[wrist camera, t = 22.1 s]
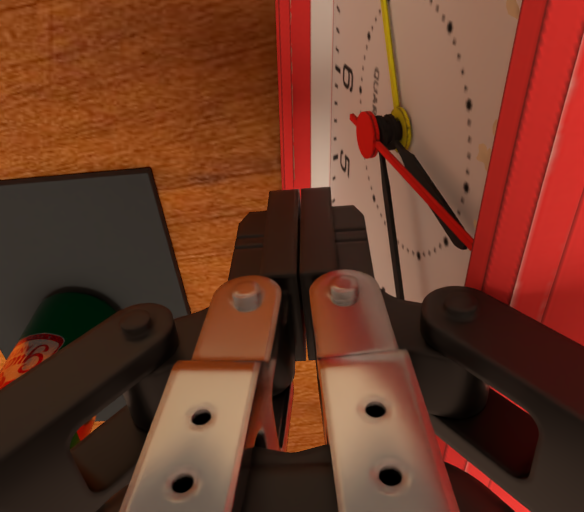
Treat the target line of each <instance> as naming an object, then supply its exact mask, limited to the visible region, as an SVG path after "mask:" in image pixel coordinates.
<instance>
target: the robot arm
mask: <svg viewBox="0 0 584 512" xmlns="http://www.w3.org/2000/svg"><path fill="white" fill-rule="evenodd" d="M306 340H307V349H308V359H309V360H316V370H317V381H318V391H319V399H320V408H321V416H322V424H323V432H324V440H325V445H323V446H319V447H315V448H311V449H308V450H304V451H300V452H295V453H288V452H287V444H288V436H289V428H290V420H291V411H292V403H293V395H294V385H293V378H294V374H295V361H306ZM490 386H491V387H492V388H494V389H495V390H497V391H498V392H500V393H501V394H503V395H504V396H505V397H507V398H508V399H510V400H511V401H513V402H514V403H516V404H517V405H519V406H520V407H522V408H523V409H524V410H526V411H527V412H528V413H529V414H528V413H527V412H525V411H524V410H522V409H521V408H519V407H518V406H516V405H515V404H513V403H512V402H510V401H509V400H508V399H506V398H505V397H503V396H502V395H500V394H499V393H497V392H496V391H494V390H493V389H491V388H490ZM122 394H123V396H124V399H125V401H126V404H127V405H125V406H124V407H123V408H122V409H120V410H119V411H118V412H117V413H115V414H114V415H113V416H112V417H110V418H109V419H108V420H107V421H105V422H104V423H103V424H101V425H100V426H99V427H98V428H96V429H95V430H94V431H93V432H91V433H90V434H89V435H88V436H86V437H85V438H84V439H83V440H81V441H80V442H79V443H78V444H76V445H75V446H74V447H73V448H71V449H70V444H71V441H72V438H73V436H74V435H75V433H76V432H77V431H78V429H79V428H80V427H81V426H83V425H84V424H85V423H86V422H88V421H89V420H90V419H92V418H93V417H94V416H95V415H97V414H98V413H99V412H101V411H102V410H103V409H104V408H106V407H107V406H108V405H110V404H111V403H112V402H113V401H115V400H116V399H117V398H119V397H120V396H121V395H122ZM435 435H436V436H438V437H439V438H440V439H441V440H443V441H444V442H445V443H446V444H448V445H449V446H450V447H451V448H453V449H454V450H455V451H456V452H458V453H459V454H460V455H461V456H462V457H464V458H465V459H466V460H467V461H469V462H470V463H471V464H472V465H474V466H475V467H476V468H477V469H479V470H480V471H481V472H482V473H483V474H485V475H486V476H487V477H488V478H490V479H491V480H492V481H493V482H495V483H496V484H497V485H498V486H500V487H501V488H502V489H503V490H504V491H506V492H507V493H508V494H509V495H511V496H512V497H513V498H514V499H516V500H517V501H518V502H519V503H521V504H522V505H523V506H524V507H526V508H527V509H528V510H529V511H530V512H584V346H583V345H581V344H579V343H577V342H575V341H573V340H571V339H570V338H568V337H566V336H564V335H562V334H560V333H559V332H557V331H555V330H553V329H551V328H549V327H547V326H546V325H544V324H542V323H540V322H538V321H536V320H534V319H533V318H531V317H529V316H527V315H525V314H523V313H521V312H520V311H518V310H516V309H514V308H512V307H510V306H508V305H507V304H505V303H503V302H501V301H499V300H497V299H495V298H494V297H492V296H490V295H488V294H486V293H484V292H482V291H480V290H477V289H474V288H470V287H465V286H446V287H442V288H439V289H436V290H434V291H432V292H430V293H429V294H428V295H427V296H426V297H425V298H424V300H423V302H422V303H419V302H413V301H407V300H402V299H399V298H396V297H394V296H391V295H389V294H388V293H386V292H385V291H383V290H382V289H381V288H380V286H379V284H378V282H377V281H376V280H375V277H374V271H373V265H372V260H371V254H370V248H369V242H368V236H367V230H366V224H365V218H364V215H363V214H362V213H361V212H360V211H359V210H358V209H357V208H356V207H355V206H354V205H345V206H332V199H331V187H317V188H303V189H301V199H300V191H299V189H291V190H277V191H270V192H269V199H268V207H267V211H260V212H249V213H248V215H247V216H246V217H245V218H244V219H243V220H242V221H241V222H240V223H239V226H238V231H237V239H236V242H235V249H234V252H233V257H232V262H231V268H230V273H229V278H228V281H227V282H226V283H224V284H223V285H221V286H220V287H219V288H218V289H217V290H216V291H215V293H214V295H213V297H212V300H211V303H210V306H209V307H208V308H206V309H204V310H202V311H199V312H196V313H193V314H189V315H186V316H182V317H179V318H175V319H174V318H173V315H172V313H171V311H170V310H169V309H168V308H167V307H165V306H163V305H160V304H156V303H141V304H136V305H132V306H129V307H126V308H124V309H122V310H120V311H118V312H116V313H115V314H113V315H112V316H110V317H109V318H107V319H106V320H104V321H103V322H101V323H100V324H98V325H97V326H95V327H94V328H92V329H91V330H89V331H88V332H86V333H85V334H83V335H82V336H80V337H79V338H77V339H76V340H74V341H73V342H71V343H70V344H68V345H67V346H65V347H64V348H62V349H61V350H59V351H57V352H56V353H54V354H53V355H51V356H50V357H48V358H47V359H45V360H44V361H42V362H41V363H39V364H38V365H36V366H35V367H33V368H32V369H30V370H29V371H27V372H26V373H24V374H23V375H21V376H20V377H18V378H17V379H15V380H14V381H12V382H11V383H9V384H8V385H6V386H5V387H3V388H2V389H0V512H515V511H514V510H513V509H512V508H511V507H509V506H508V505H507V504H506V503H505V502H504V501H503V500H502V499H500V498H499V497H498V496H497V495H496V494H495V493H494V492H492V491H491V490H490V489H489V488H488V487H486V486H485V485H484V484H483V483H482V482H480V481H479V480H477V479H476V478H474V477H473V476H471V475H470V474H469V473H467V472H465V471H463V470H461V469H460V468H458V467H456V466H454V465H451V464H449V463H447V462H444V461H443V458H442V455H441V451H440V448H439V445H438V442H437V439H436V436H435Z"/></svg>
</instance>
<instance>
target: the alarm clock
mask: <svg viewBox="0 0 584 512" xmlns="http://www.w3.org/2000/svg"><path fill="white" fill-rule="evenodd" d="M275 8H276V36H277V64H278V91H279V119H280V147H281V175H282V190H291V189H299V191H300V199H301V189H303V188H317V187H331V199H332V206H345V205H354V206H355V207H356V208H357V209H358V210H359V211H360V212H361V213H362V214H363V215H364V218H365V224H366V230H367V236H368V242H369V248H370V254H371V260H372V265H373V271H374V277H375V280H376V281H377V282H378V284H379V286H380V288H381V289H382V290H383V291H385V292H386V293H388V294H389V295H391V296H394V297H396V298H399V299H402V300H407V301H413V302H419V303H422V302H423V300H424V298H425V297H426V296H427V295H428V294H429V293H430V292H432V291H434V290H436V289H439V288H442V287H446V286H465V287H470V288H474V289H477V290H480V291H482V292H484V293H486V294H488V295H490V296H492V297H494V298H495V299H497V300H499V301H501V302H503V303H505V304H507V305H508V306H510V307H512V308H514V309H516V310H518V311H520V312H521V313H523V314H525V315H527V316H529V317H531V318H533V319H534V320H536V321H538V322H540V323H542V324H544V325H546V326H547V327H549V328H551V329H553V330H555V331H557V332H559V333H560V334H562V335H564V336H566V337H568V338H570V339H571V340H573V341H575V342H577V343H579V344H581V345H583V346H584V0H275ZM490 388H491V389H493V390H494V391H496V392H497V393H499V394H500V395H502V396H503V397H505V396H504V395H503V394H501V393H500V392H498V391H497V390H495V389H494V388H492V387H491V386H490ZM505 398H506V399H508V398H507V397H505ZM508 400H509V401H510V402H512V403H513V404H515V405H516V406H518V407H519V408H521V409H522V410H524V409H523V408H522V407H520V406H519V405H517V404H516V403H514V402H513V401H511V400H510V399H508ZM524 411H525V412H527V411H526V410H524ZM527 413H528V412H527ZM528 414H529V413H528ZM435 436H436V435H435ZM436 439H437V442H438V445H439V448H440V451H441V455H442V458H443V461H444V462H447V463H449V464H451V465H454V466H456V467H458V468H460V469H461V470H463V471H465V472H467V473H469V474H470V475H471V476H473V477H474V478H476V479H477V480H479V481H480V482H482V483H483V484H484V485H485V486H486V487H488V488H489V489H490V490H491V491H492V492H494V493H495V494H496V495H497V496H498V497H499V498H500V499H502V500H503V501H504V502H505V503H506V504H507V505H508V506H509V507H511V508H512V509H513V510H514V511H515V512H530V511H529V510H528V509H527V508H526V507H524V506H523V505H522V504H521V503H519V502H518V501H517V500H516V499H514V498H513V497H512V496H511V495H509V494H508V493H507V492H506V491H504V490H503V489H502V488H501V487H500V486H498V485H497V484H496V483H495V482H493V481H492V480H491V479H490V478H488V477H487V476H486V475H485V474H483V473H482V472H481V471H480V470H479V469H477V468H476V467H475V466H474V465H472V464H471V463H470V462H469V461H467V460H466V459H465V458H464V457H462V456H461V455H460V454H459V453H458V452H456V451H455V450H454V449H453V448H451V447H450V446H449V445H448V444H446V443H445V442H444V441H443V440H441V439H440V438H439V437H438V436H436Z"/></svg>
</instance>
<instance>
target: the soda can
mask: <svg viewBox="0 0 584 512" xmlns="http://www.w3.org/2000/svg"><path fill="white" fill-rule="evenodd" d="M115 313H116V311H115V309H114V308H113V307H112V306H111V305H109V304H108V303H107V302H105V301H104V300H102V299H100V298H99V297H96V296H94V295H91V294H87V293H82V292H65V293H59V294H55V295H53V296H50V297H48V298H47V299H45V300H44V301H43V302H42V303H41V304H40V305H39V306H38V308H37V309H36V311H35V313H34V315H33V316H32V318H31V320H30V321H29V323H28V325H27V326H26V328H25V330H24V332H23V333H22V335H21V337H20V338H19V340H18V342H17V343H16V345H15V347H14V349H13V350H12V352H11V354H10V355H9V357H8V359H7V361H6V362H5V364H4V366H3V367H2V369H1V371H0V389H2V388H3V387H5V386H6V385H8V384H9V383H11V382H12V381H14V380H15V379H17V378H18V377H20V376H21V375H23V374H24V373H26V372H27V371H29V370H30V369H32V368H33V367H35V366H36V365H38V364H39V363H41V362H42V361H44V360H45V359H47V358H48V357H50V356H51V355H53V354H54V353H56V352H57V351H59V350H61V349H62V348H64V347H65V346H67V345H68V344H70V343H71V342H73V341H74V340H76V339H77V338H79V337H80V336H82V335H83V334H85V333H86V332H88V331H89V330H91V329H92V328H94V327H95V326H97V325H98V324H100V323H101V322H103V321H104V320H106V319H107V318H109V317H110V316H112V315H113V314H115ZM96 416H97V415H95V416H94V417H93V418H92V419H90V420H89V421H88V422H86V423H85V424H84V425H83V426H81V427H80V428H79V429H78V431H77V432H76V433H75V435H74V436H73V438H72V441H71V444H70V449H71V448H73V447H74V446H75V445H76V444H78V443H79V442H80V441H81V440H83V439H84V438H85V437H86V436H88V435H89V434H90V432H91V429H92V427H93V424H94V421H95V418H96Z"/></svg>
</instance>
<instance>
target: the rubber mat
mask: <svg viewBox="0 0 584 512" xmlns="http://www.w3.org/2000/svg"><path fill="white" fill-rule="evenodd" d="M65 292H82V293H87V294H91V295H94V296H96V297H99V298H100V299H102V300H104V301H105V302H107V303H108V304H109V305H111V306H112V307H113V308H114V309H115V311H116V312H118V311H120V310H122V309H124V308H126V307H129V306H132V305H136V304H141V303H156V304H160V305H163V306H165V307H167V308H168V309H169V310H170V311H171V313H172V315H173V318H174V319H175V318H179V317H182V316H186V315H189V314H191V313H190V309H189V305H188V302H187V298H186V295H185V291H184V287H183V284H182V280H181V277H180V273H179V269H178V266H177V262H176V258H175V255H174V251H173V248H172V244H171V240H170V237H169V233H168V230H167V226H166V222H165V219H164V215H163V212H162V208H161V204H160V201H159V197H158V194H157V190H156V186H155V183H154V179H153V175H152V172H151V168H141V169H130V170H118V171H107V172H95V173H84V174H73V175H61V176H50V177H38V178H27V179H15V180H4V181H0V350H1V352H2V353H3V355H4V357H5V359H6V360H7V359H8V357H9V355H10V354H11V352H12V350H13V349H14V347H15V345H16V343H17V342H18V340H19V338H20V337H21V335H22V333H23V332H24V330H25V328H26V326H27V325H28V323H29V321H30V320H31V318H32V316H33V315H34V313H35V311H36V309H37V308H38V306H39V305H40V304H41V303H42V302H43V301H44V300H45V299H47V298H48V297H50V296H53V295H55V294H59V293H65ZM125 405H127V404H126V401H125V399H124V396H123V394H122V395H121V396H120V397H119V398H117V399H116V400H115V401H113V402H112V403H111V404H110V405H108V406H107V407H106V408H104V409H103V410H102V411H101V412H99V413H98V414H97V416H96V418H95V421H107V420H108V419H109V418H110V417H112V416H113V415H114V414H115V413H117V412H118V411H119V410H120V409H122V408H123V407H124V406H125Z"/></svg>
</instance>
